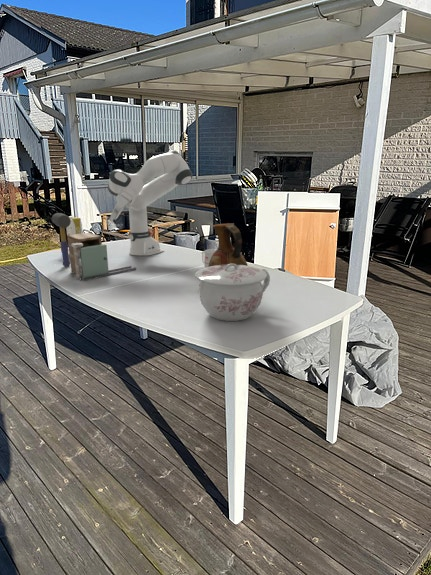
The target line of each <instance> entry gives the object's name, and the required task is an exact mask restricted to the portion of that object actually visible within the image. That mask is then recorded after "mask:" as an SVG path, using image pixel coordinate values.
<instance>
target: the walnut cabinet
mask: <svg viewBox="0 0 431 575" xmlns="http://www.w3.org/2000/svg"><path fill="white" fill-rule="evenodd" d="M66 239H67V245H68V256H69V261H70V270H71V273H73V274H75V275H76V276H75V277H76V280H77V281H78V282H80V281H81V279H80V276H83V275H82V267H80V266H79V262H78V258H81V256H80V248H81V247H88V246H94V245H101V244H103V242H102V236H101V235H98V234H96V233H92V232H84V233H82V234H74V235H67V234H66Z"/></svg>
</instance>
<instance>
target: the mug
mask: <svg viewBox="0 0 431 575" xmlns="http://www.w3.org/2000/svg"><path fill="white" fill-rule="evenodd" d="M217 249H218V248H217ZM217 249H215V248H210V249H205V250H203V251H202V252H201V260H202V263H203V264H204V268H205V267H208V266H209V262H210V259H211V257H212V255H213V253H214V252H215V251H216V250H217Z"/></svg>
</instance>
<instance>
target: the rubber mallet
mask: <svg viewBox="0 0 431 575" xmlns="http://www.w3.org/2000/svg"><path fill="white" fill-rule="evenodd" d="M51 222H52V223H53V224H54V225H56V226H57V227H58V228H59V231H60V232H59V233H60V240H61V241H60V251H61V255H62V266H63V268H64V267H65V268H68V267H70V266H71V264H70V255H69V247H68V240H67V235H66V230H65V229H66V227H68V226H69V225H70V223H71V220H70V218H69V216H68V215H66V214H65V213H62V212H56V213H54V214H53V215H52V216H51Z"/></svg>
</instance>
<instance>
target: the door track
mask: <svg viewBox="0 0 431 575" xmlns="http://www.w3.org/2000/svg"><path fill="white" fill-rule="evenodd" d="M136 270H137V268H136V267H132V266H131V265H127V266H123V267H117V268H113V269H108V271H109V273H105V274H100V275H95V276H90V277H85V278H84V280H83V281H84V282H85V281H89V280H93V279H99V278H102V277H107V276H112V275H116V274H121V273H127V272H131V271H136ZM81 279H82V278H81V276H80V280H81Z"/></svg>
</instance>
